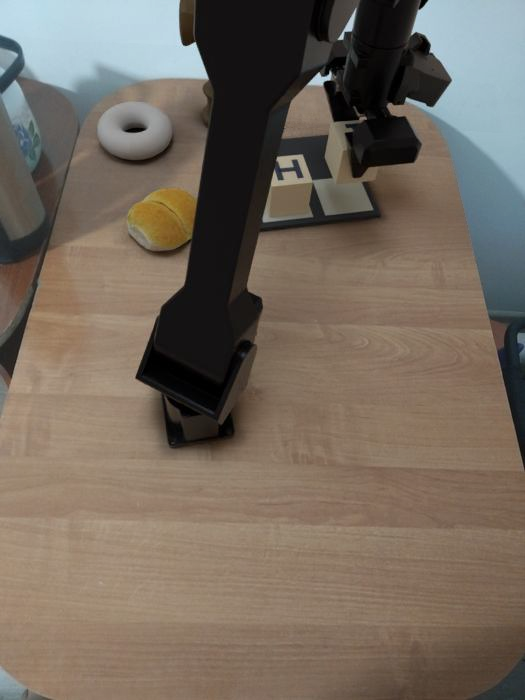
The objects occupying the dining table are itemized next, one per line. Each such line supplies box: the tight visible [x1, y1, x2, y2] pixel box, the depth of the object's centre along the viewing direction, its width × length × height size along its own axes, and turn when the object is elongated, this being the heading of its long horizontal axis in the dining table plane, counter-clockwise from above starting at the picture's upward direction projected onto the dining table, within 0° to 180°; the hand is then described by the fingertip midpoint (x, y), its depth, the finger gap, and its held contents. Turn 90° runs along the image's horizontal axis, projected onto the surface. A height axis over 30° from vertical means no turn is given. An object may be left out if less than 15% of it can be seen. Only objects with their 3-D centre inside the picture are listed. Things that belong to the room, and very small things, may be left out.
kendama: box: [178, 0, 213, 126], centre depth 71 cm, size 6×10×20 cm, turn 90°
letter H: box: [266, 155, 313, 217], centre depth 69 cm, size 5×5×5 cm
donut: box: [96, 101, 173, 161], centre depth 75 cm, size 10×4×10 cm
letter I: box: [325, 118, 379, 185], centre depth 67 cm, size 5×5×5 cm
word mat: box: [260, 134, 382, 232], centre depth 74 cm, size 16×16×1 cm
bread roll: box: [126, 187, 197, 252], centre depth 67 cm, size 8×9×4 cm
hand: (350, 162), depth 68 cm, fingers closed on letter I, 5 cm apart
